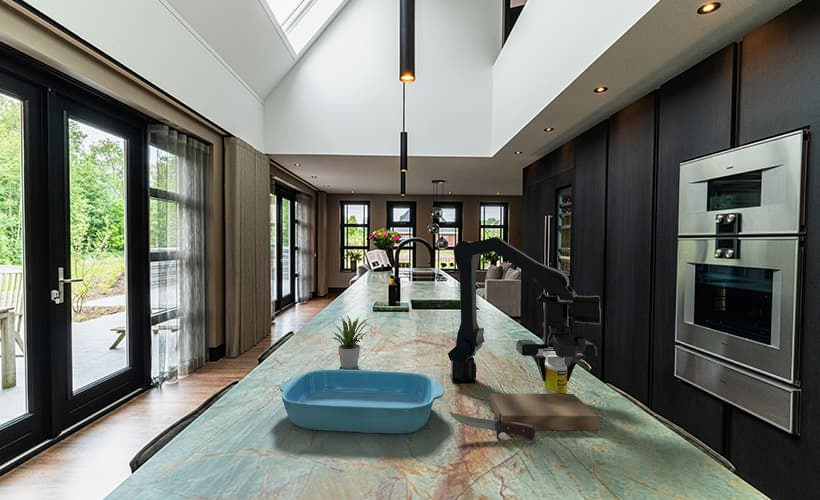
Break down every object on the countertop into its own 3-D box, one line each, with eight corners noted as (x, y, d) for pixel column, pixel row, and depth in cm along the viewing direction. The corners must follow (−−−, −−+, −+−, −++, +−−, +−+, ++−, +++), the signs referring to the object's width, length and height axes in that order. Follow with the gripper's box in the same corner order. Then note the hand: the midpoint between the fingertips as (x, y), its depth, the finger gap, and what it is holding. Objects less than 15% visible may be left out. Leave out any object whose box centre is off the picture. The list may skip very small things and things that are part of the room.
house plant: (384, 364, 123) (384, 313, 123) (356, 376, 111) (356, 320, 111) (350, 357, 131) (351, 309, 130) (321, 367, 119) (321, 315, 119)
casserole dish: (442, 398, 96) (442, 370, 96) (445, 444, 74) (445, 407, 74) (299, 394, 98) (299, 366, 98) (260, 437, 76) (260, 401, 76)
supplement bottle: (557, 402, 93) (558, 360, 93) (539, 395, 98) (539, 355, 98) (571, 397, 96) (571, 357, 96) (552, 390, 101) (552, 352, 101)
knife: (448, 437, 76) (448, 413, 76) (448, 434, 77) (448, 410, 77) (535, 440, 75) (535, 415, 75) (533, 436, 76) (533, 412, 76)
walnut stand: (502, 429, 79) (502, 415, 79) (489, 405, 91) (490, 393, 91) (598, 430, 79) (598, 416, 79) (573, 406, 91) (573, 393, 91)
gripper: (529, 326, 89) (528, 393, 89) (608, 327, 89) (608, 393, 89) (515, 317, 100) (515, 377, 100) (586, 318, 100) (585, 377, 100)
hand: (555, 381), depth 97 cm, fingers closed on supplement bottle, 5 cm apart
